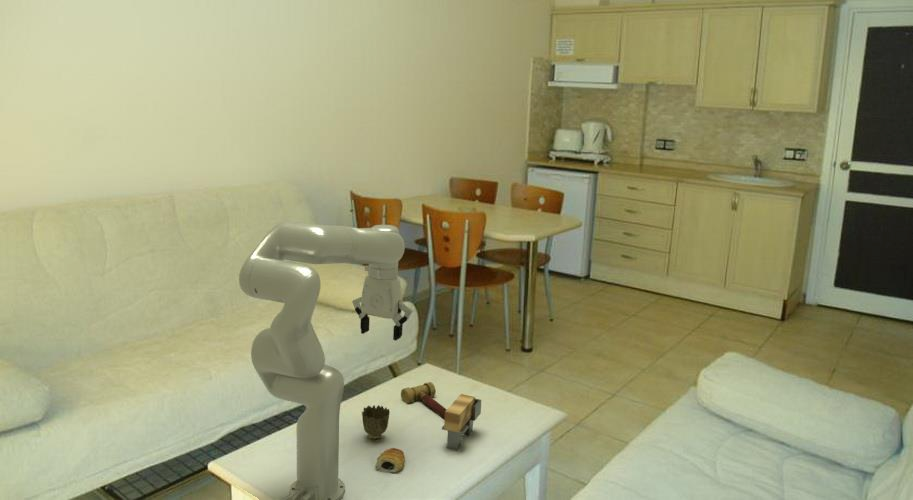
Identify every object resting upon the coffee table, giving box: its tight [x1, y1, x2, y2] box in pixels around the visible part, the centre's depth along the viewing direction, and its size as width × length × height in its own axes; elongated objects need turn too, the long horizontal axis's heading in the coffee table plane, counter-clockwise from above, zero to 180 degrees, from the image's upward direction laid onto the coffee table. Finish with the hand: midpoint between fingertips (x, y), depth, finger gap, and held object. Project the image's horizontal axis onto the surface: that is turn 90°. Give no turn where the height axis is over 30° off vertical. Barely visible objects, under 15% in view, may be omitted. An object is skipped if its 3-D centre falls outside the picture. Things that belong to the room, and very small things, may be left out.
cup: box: [361, 404, 391, 441], centre depth 192 cm, size 8×7×8 cm
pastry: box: [375, 447, 406, 473], centre depth 180 cm, size 9×7×4 cm
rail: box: [443, 393, 476, 432], centre depth 191 cm, size 12×4×5 cm, turn 159°
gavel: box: [400, 381, 448, 420], centre depth 212 cm, size 21×5×10 cm
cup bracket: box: [462, 398, 482, 437], centre depth 197 cm, size 5×6×10 cm
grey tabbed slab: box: [441, 425, 468, 452], centre depth 190 cm, size 4×6×6 cm, turn 69°
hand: (380, 335), depth 188 cm, fingers open, 9 cm apart
